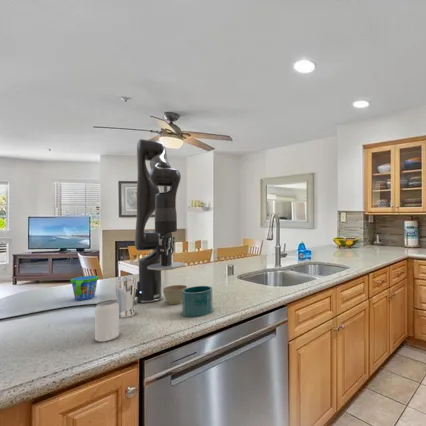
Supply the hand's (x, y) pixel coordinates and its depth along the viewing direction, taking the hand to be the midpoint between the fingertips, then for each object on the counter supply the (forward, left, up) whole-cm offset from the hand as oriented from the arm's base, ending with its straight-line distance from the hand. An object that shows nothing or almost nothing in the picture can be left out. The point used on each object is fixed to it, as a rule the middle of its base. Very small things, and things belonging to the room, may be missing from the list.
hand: (166, 264), depth 113 cm
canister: (+9, +8, -22) cm, 25 cm away
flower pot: (-4, +23, -22) cm, 32 cm away
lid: (0, 0, -1) cm, 1 cm away
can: (-15, -13, -22) cm, 29 cm away
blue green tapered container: (-50, +40, -22) cm, 68 cm away
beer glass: (-19, +10, -22) cm, 31 cm away
